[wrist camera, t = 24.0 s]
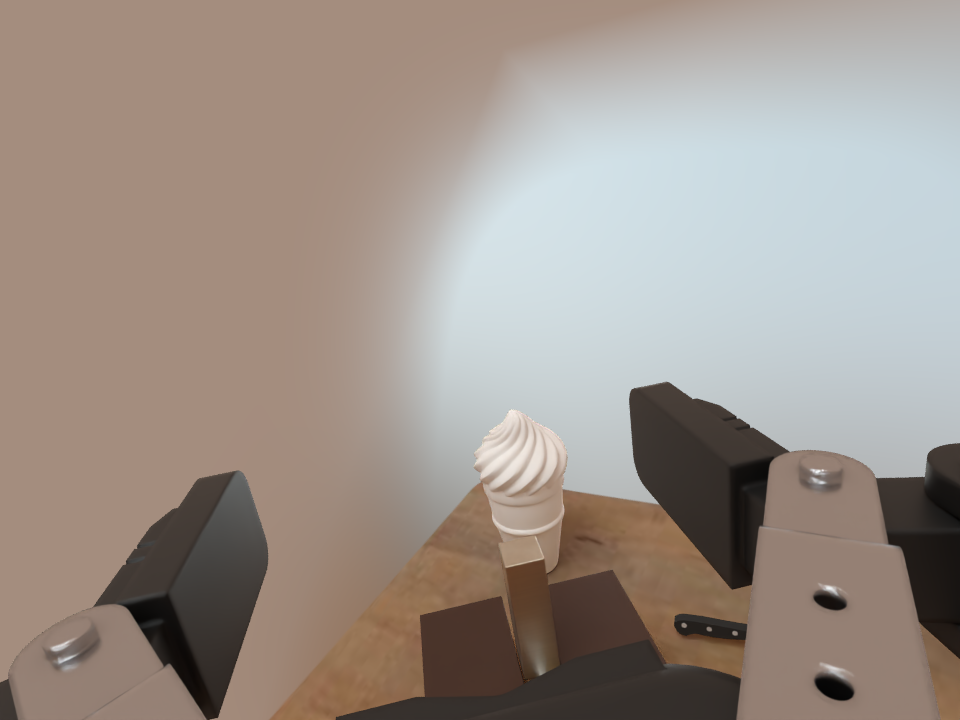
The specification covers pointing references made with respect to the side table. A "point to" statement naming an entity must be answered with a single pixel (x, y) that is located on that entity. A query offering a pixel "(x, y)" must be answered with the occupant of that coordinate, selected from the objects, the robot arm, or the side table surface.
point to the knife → (709, 627)
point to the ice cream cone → (525, 481)
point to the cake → (489, 645)
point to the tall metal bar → (530, 605)
